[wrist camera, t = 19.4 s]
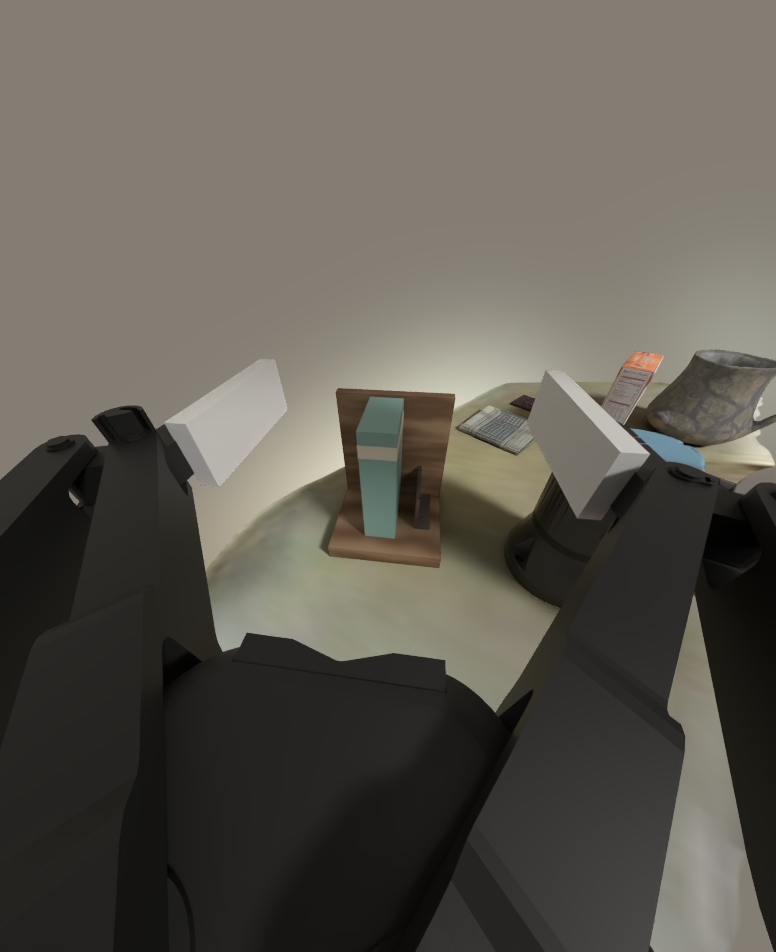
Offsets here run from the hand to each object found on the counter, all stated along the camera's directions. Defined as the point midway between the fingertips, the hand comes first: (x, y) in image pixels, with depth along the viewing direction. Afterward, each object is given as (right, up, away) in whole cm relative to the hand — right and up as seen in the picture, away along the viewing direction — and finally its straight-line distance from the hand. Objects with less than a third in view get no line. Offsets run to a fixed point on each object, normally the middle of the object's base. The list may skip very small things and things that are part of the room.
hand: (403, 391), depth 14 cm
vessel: (+79, +7, +62) cm, 101 cm away
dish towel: (+31, +8, +64) cm, 72 cm away
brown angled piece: (0, -13, +38) cm, 40 cm away
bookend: (+6, -11, +37) cm, 38 cm away
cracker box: (+54, +5, +59) cm, 80 cm away
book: (-2, -11, +36) cm, 37 cm away
